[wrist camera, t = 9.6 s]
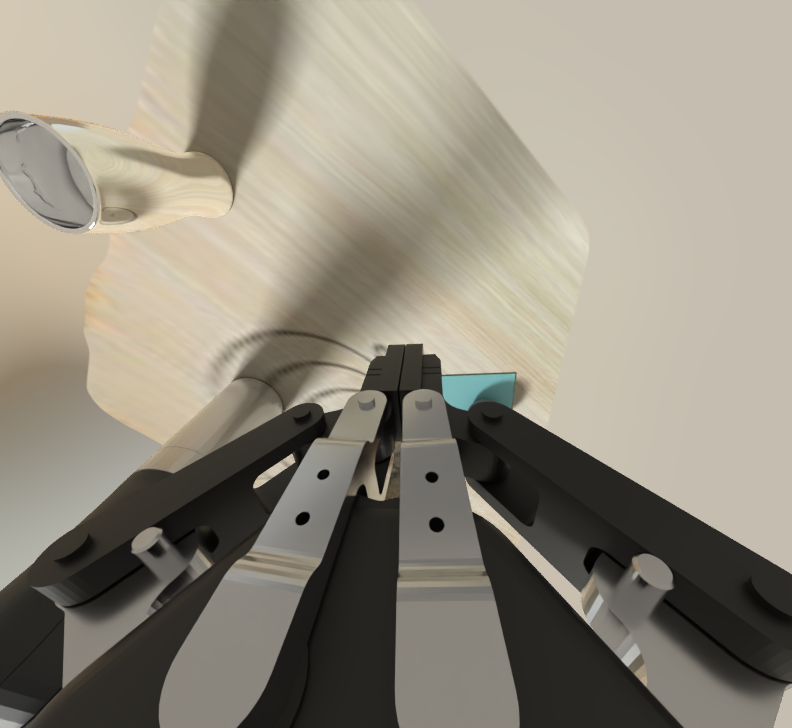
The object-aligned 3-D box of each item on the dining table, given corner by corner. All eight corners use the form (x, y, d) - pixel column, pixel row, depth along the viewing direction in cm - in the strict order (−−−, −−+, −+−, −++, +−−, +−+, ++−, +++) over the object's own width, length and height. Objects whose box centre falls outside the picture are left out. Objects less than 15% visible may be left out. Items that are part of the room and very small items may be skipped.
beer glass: (231, 151, 29) (71, 114, 16) (242, 226, 32) (117, 245, 20) (166, 141, 29) (-44, 97, 16) (184, 217, 33) (23, 229, 20)
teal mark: (506, 446, 45) (507, 447, 45) (419, 446, 47) (419, 447, 47) (515, 373, 38) (515, 373, 38) (412, 376, 40) (412, 377, 40)
